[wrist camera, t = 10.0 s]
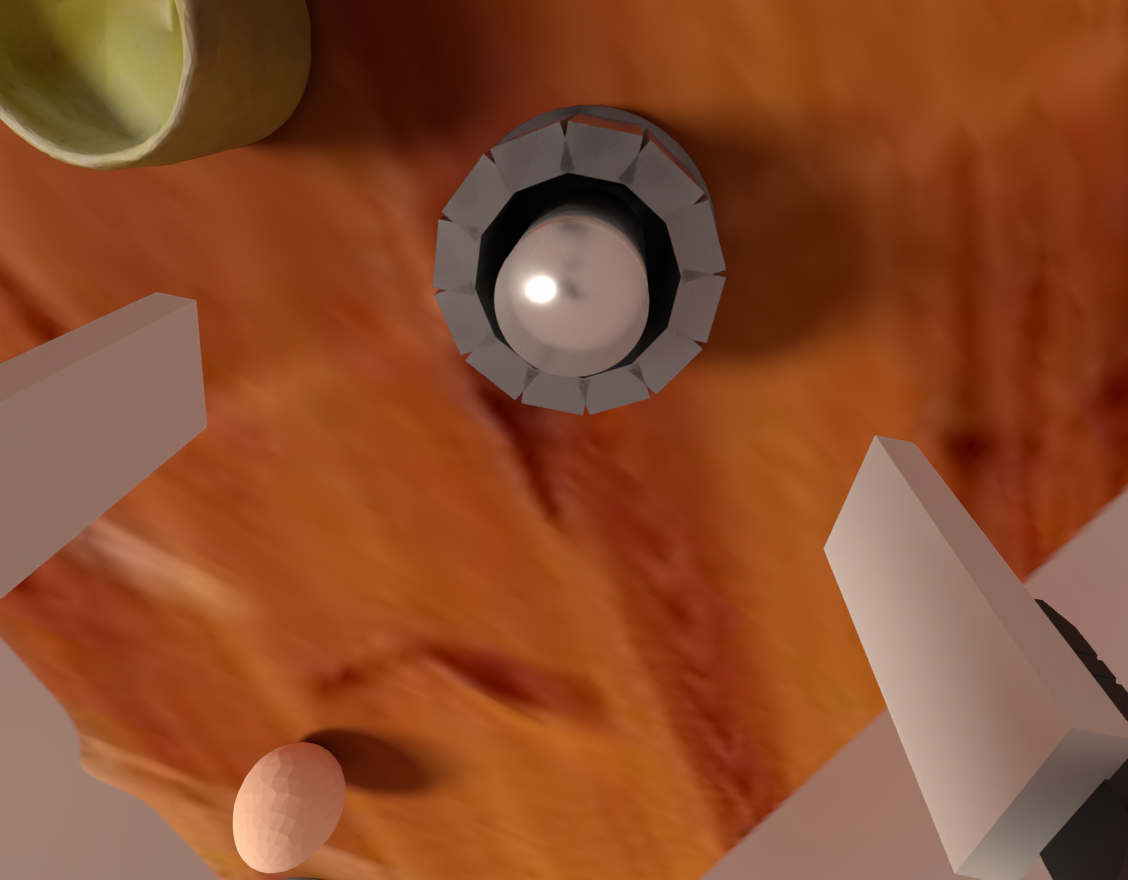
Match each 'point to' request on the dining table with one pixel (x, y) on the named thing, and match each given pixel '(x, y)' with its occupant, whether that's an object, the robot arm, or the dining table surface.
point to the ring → (477, 258)
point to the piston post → (581, 263)
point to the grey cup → (301, 879)
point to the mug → (150, 76)
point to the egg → (288, 806)
